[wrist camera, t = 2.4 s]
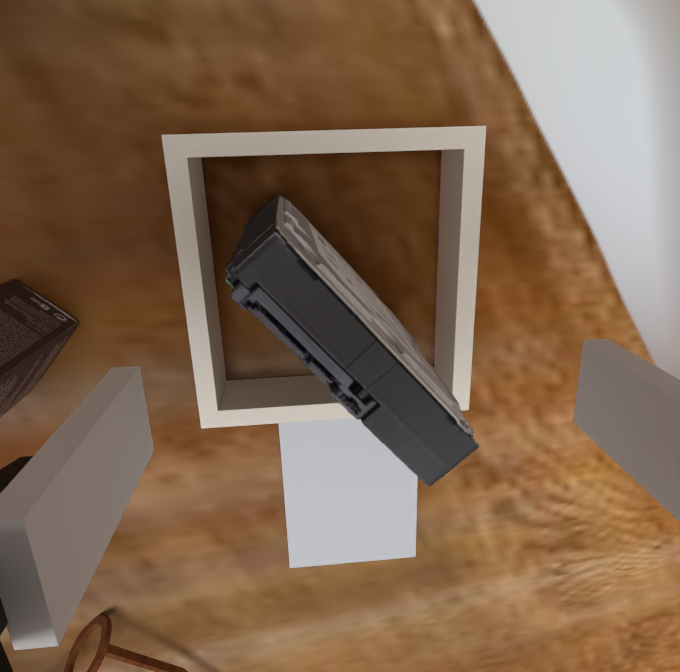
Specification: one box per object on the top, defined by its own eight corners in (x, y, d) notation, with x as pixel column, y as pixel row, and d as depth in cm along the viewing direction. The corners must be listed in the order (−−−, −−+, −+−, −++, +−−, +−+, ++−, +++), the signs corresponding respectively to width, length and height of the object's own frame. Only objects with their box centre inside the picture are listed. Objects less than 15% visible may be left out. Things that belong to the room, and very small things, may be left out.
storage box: (179, 137, 27) (161, 134, 23) (460, 129, 28) (486, 125, 24) (211, 396, 32) (201, 428, 28) (448, 380, 33) (468, 409, 29)
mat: (278, 413, 33) (278, 416, 32) (417, 403, 33) (419, 407, 33) (289, 562, 37) (289, 568, 36) (414, 551, 37) (415, 556, 37)
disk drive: (402, 316, 31) (491, 446, 17) (368, 346, 32) (427, 496, 18) (282, 186, 28) (274, 218, 14) (246, 221, 29) (204, 286, 15)
